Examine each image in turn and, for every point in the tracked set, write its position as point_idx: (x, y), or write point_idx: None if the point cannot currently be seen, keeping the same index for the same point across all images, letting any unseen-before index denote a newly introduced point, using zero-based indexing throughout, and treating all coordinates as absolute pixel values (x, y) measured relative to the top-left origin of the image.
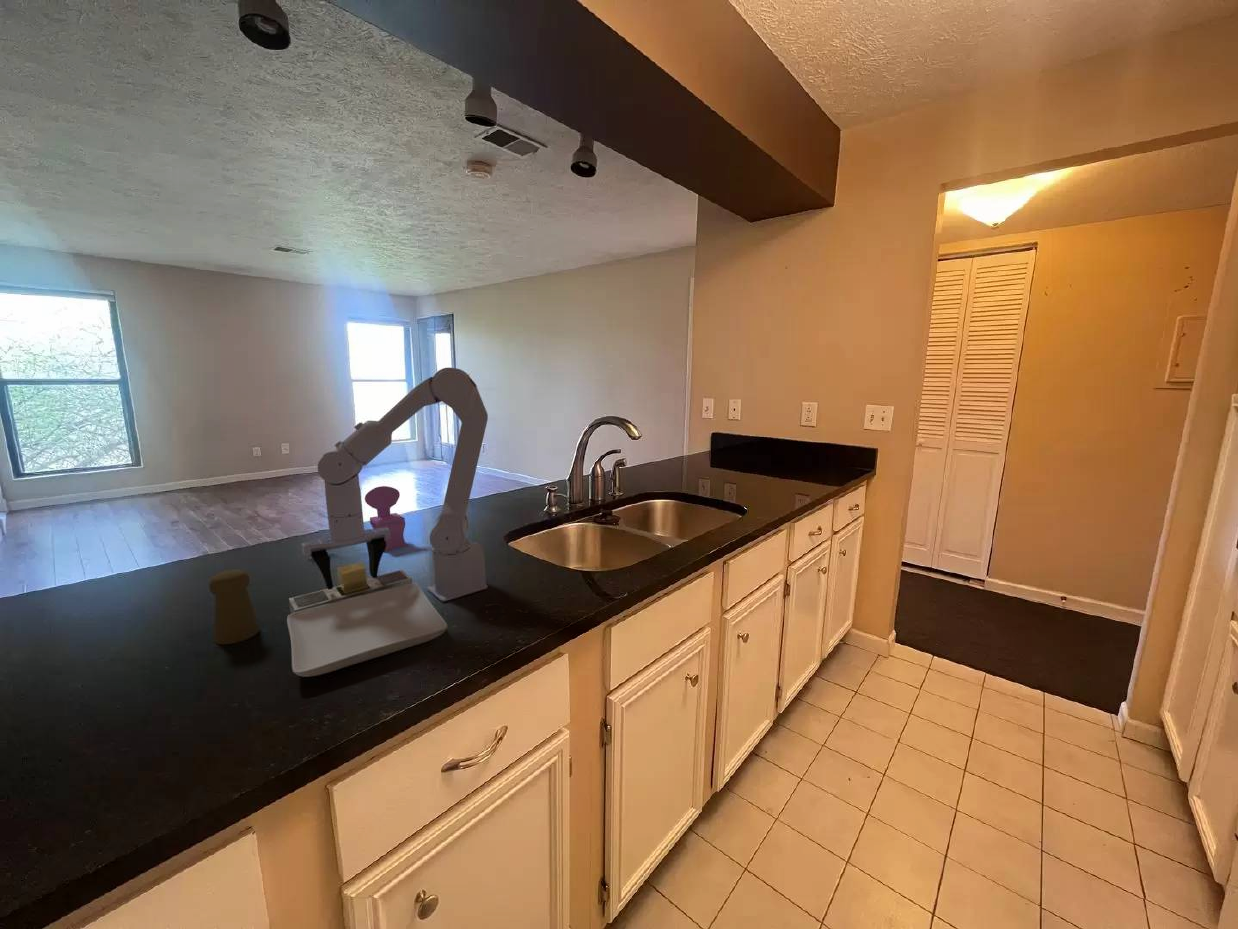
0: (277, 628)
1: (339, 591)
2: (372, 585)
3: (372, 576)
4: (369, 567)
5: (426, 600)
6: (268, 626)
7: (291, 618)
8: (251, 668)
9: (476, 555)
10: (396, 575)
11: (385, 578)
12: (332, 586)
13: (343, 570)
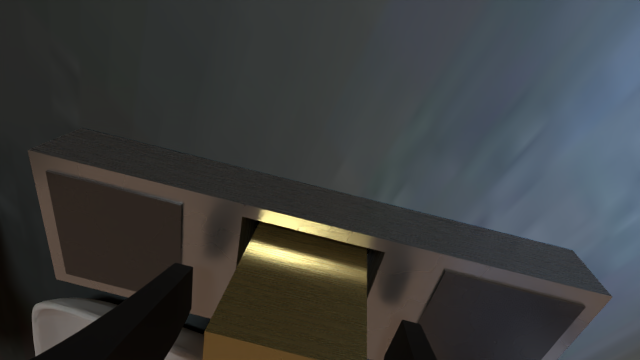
0: (43, 229)
1: (260, 221)
2: (370, 329)
3: (388, 353)
4: (413, 356)
5: None
6: (14, 191)
7: (50, 312)
8: (5, 350)
9: None
10: (518, 336)
11: (459, 324)
12: (183, 322)
13: None
